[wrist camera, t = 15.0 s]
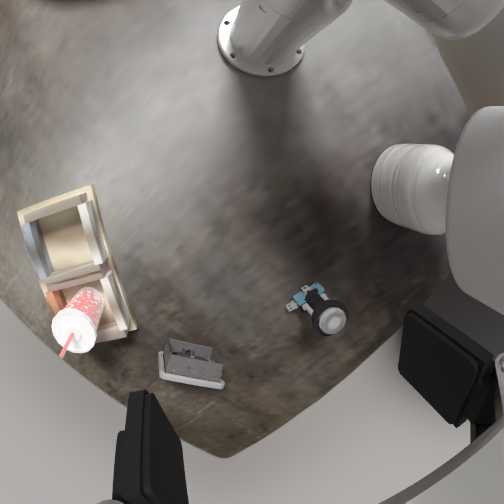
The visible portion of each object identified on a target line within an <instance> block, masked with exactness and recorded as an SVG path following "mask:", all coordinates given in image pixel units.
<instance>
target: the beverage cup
mask: <svg viewBox="0 0 504 504" xmlns="http://www.w3.org/2000/svg"><path fill="white" fill-rule="evenodd" d="M104 305H105V304H104V298H103V296H102V294H101V293H100V292H99V291H98V290H97V289H94V288H92V287H84V288H82V289H80V291H79V292H78V293H77V294H76V295H75V296H74V297H73V298H72V300H71V301H70V302H69V303H68V304H67V305H66V307H65V308H64V309H63V310H60V311H59V312H58V313H57V314H56V316H55V317H54V318H53V321H52V326H51V327H52V331H53V335H54V337H55V338H56V340H57V342H58V343H59V344H60V345H61V346H63V349H62V351H61V353H60V355H59V357H60V358H63V357H64V354H65V352H66V350H69V351H71V352H74V353H84V352H88V351H89V350H90V349H91V348H92V347H93V346H94V344H95V340H96V337H97V333H96V330H97V327H98V324H99V321H100V317H101V314H102V311H103V308H104Z"/></svg>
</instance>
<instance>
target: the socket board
mask: <svg viewBox="0 0 504 504" xmlns="http://www.w3.org/2000/svg"><path fill="white" fill-rule="evenodd" d="M17 214H18V218H19V222H20V225H21V229H22V232H23V236H24V239H25V242H26V246H27V249H28V252H29V255H30V258H31V261H32V264H33V266H34V269H35V272H36V275H37V277H38V280H39V283H40V285H41V288H42V290H43V293H44V295H45V298H46V300H47V302H48V305H49V307H50V309H51V312H52V314H53V316H54V317H55V316H56V314H57V313H58V312H59V311H60V310H63V309H64V308H65V307H66V305H67V304H68V303H69V302H70V301H71V300H72V298H73V297H74V296H75V295H76V294H77V293H78V292H79V291H80V289H82V288H84V287H92V288H94V289H97V290H98V291H99V292H100V293H101V294H102V296H103V298H104V304H105V305H104V308H103V311H102V314H101V317H100V321H99V324H98V327H97V330H96V333H97V337H96V340H95V343H99V342H104V341H110V340H115V339H120V338H125V337H127V334H128V331H132V330H137V323H136V321H135V318H134V315H133V313H132V310H131V308H130V305H129V302H128V300H127V297H126V294H125V291H124V288H123V286H122V283H121V280H120V277H119V274H118V271H117V268H116V265H115V262H114V259H113V255H112V252H111V249H110V246H109V242H108V239H107V235H106V232H105V228H104V225H103V221H102V217H101V214H100V210H99V206H98V202H97V198H96V193H95V189H94V185H93V184H92V185H88V186H85V187H82V188H79V189H76V190H73V191H70V192H68V193H65V194H62V195H59V196H56V197H53V198H51V199H48V200H45V201H43V202H40V203H37V204H35V205H32V206H30V207H27V208H25V209H22V210H20V211H17Z"/></svg>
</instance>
